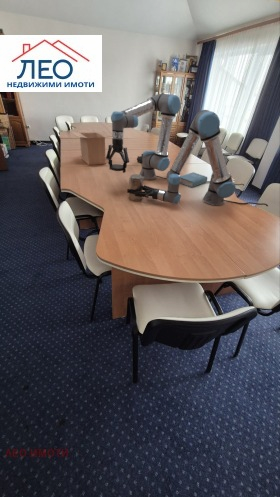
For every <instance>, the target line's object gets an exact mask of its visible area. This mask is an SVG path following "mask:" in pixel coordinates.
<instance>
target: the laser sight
mask: <svg viewBox="0 0 280 497" xmlns="http://www.w3.org/2000/svg"><path fill="white" fill-rule="evenodd" d="M142 156H143V153H141V155H140V156H139V155H137V157H136V163H140V164H142Z"/></svg>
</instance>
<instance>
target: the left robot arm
mask: <svg viewBox="0 0 280 497" xmlns="http://www.w3.org/2000/svg"><path fill="white" fill-rule="evenodd" d="M181 105H182V102H181V99H180V97H179V96H178V95H176V94H174V93H173V94H171V93H157V94H155V95H153V96H150V97H148V98H147V99H146V100H144V101H143V102H141V103H138V104H135V105H133V106H131V107H129V108H126V109H124V110H121V111H117V110H116V111H113V112H112V113H111V115H110V121H111V136H112V137H111V144H108V149H107V153H106V155H105V157H106V159H107V160H108V166H109V168H108V169H109V170H111V169H110V165H113V157H114V155H115V154H116V153H117V154H119V155H120V157H121V159H122V162H123V163H122V165H123V171H122V173H124V174H125V173H126V172H127V171H126V170H127V168H128V163H130V158H129V154H128V147H125V146H124V129H134V128H137V127H138V126H139V118H140V117H141V116H143V115H146V114H148V113H154V112H160V116H161V122H160V127H159V135H158V140H157V147H156V150H144V151H143V152H142V154H143V156H142V155H141V156H142V163H141V169H140V172H139V175H141V176H143V180H146V181H154V180H156V178H160V179H164V180H167V178H166V177H162V176H160V175H157V174H156V170H157V171H159V172H165V171H166V170H167V169H168V168H169V166H170V163H171V160H170V158H169V153H168V149H169V143H170V138H171V132H172V128H173V127H172V126H173V121H174V119H175V118H176V115H177V114H178V113H179V112H180V110H181V107H182V106H181ZM138 117H139V118H138ZM111 171H112V170H111ZM206 183H210V180H207V182H206ZM234 184H235V186H243V187H244V186H245V184H244V183H234Z"/></svg>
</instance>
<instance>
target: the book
mask: <svg viewBox="0 0 280 497" xmlns="http://www.w3.org/2000/svg"><path fill="white" fill-rule="evenodd" d="M207 181H208V176H206V175H203V174H200V173H196V172H195V171H192V172H190V173H186V174H183V175H180V184H181V185H184V186H185V187H186V186H187V187H188V188H194V187H197V186H199V185H202V184H205V183H208V182H207Z"/></svg>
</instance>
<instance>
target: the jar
mask: <svg viewBox="0 0 280 497" xmlns="http://www.w3.org/2000/svg"><path fill="white" fill-rule="evenodd" d="M143 186H144V179H143V176H141V175H140V174H138V173H137V174H130V176H129V184H128V189H131V190H136V191H144V190H143ZM128 199H129V200H131V201H135V202H136V201H138V202H139V201H141V200H142V199H143V197H138V196H135V194H131V193H128Z"/></svg>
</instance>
